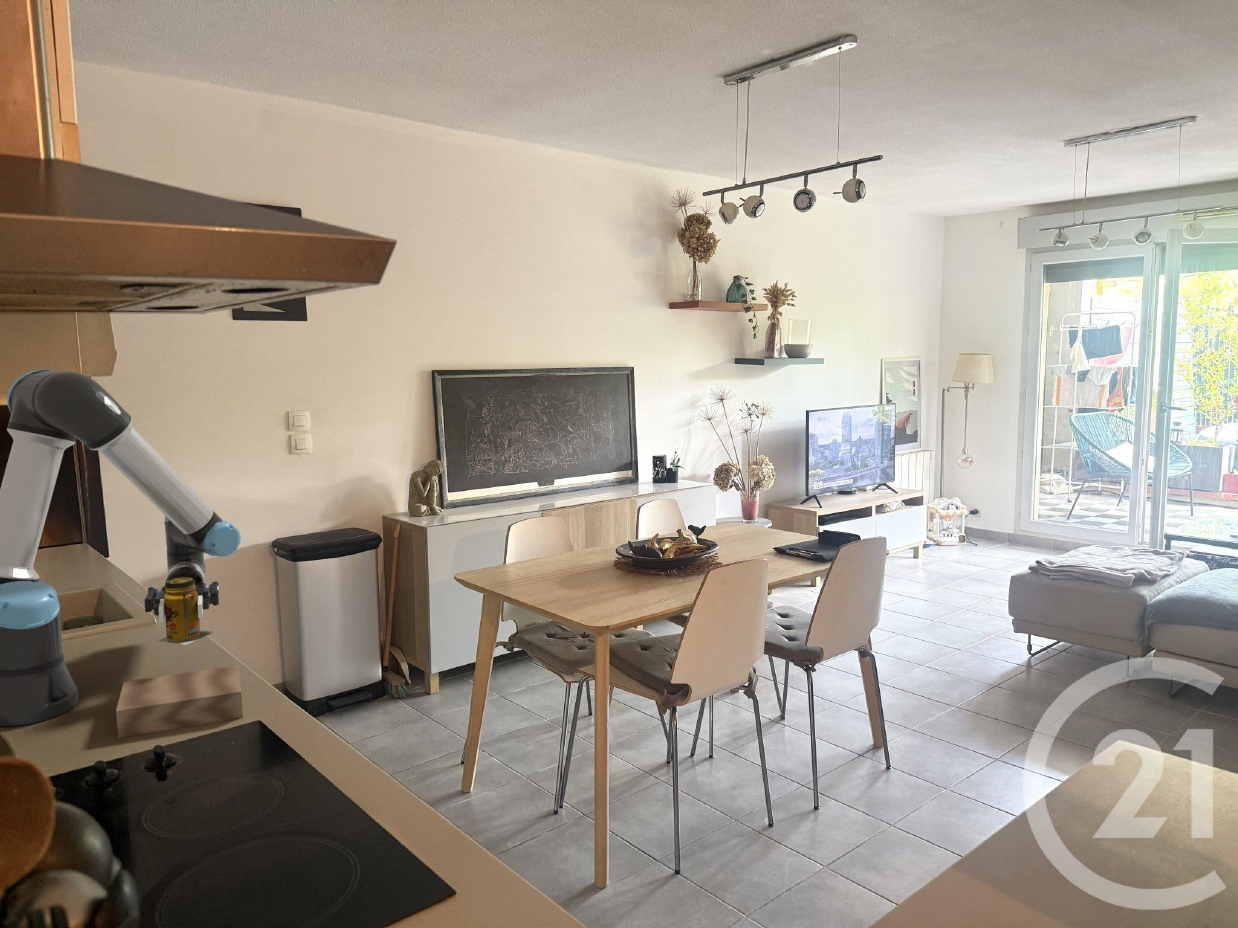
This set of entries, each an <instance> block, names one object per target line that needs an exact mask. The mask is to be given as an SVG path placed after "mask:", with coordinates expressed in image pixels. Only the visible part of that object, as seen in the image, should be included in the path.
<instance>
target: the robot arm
mask: <svg viewBox="0 0 1238 928" xmlns="http://www.w3.org/2000/svg"><path fill="white" fill-rule="evenodd" d="M6 404H7V407H8V410H9V412H10V417H9V421H8V424H7V428H6V431H7V432H8V434H9V435H10V436H11V438H12V440H13V442H12V445H11V450H10V453H9V455H8V456H9V457H8V461H7V463H6V467H5V472H4V475H3V479H2V482H1V487H0V727H15V726H16V727H17V726H23V725H29V724H35V723H38V722H43V721H46V720H49V719H53V718H55V717H58V716H60V715H62V714H64V713H66V712H68V711H70V710H72V709H73V708H75V707H76V706H77V705H78V703H79V700H80V699H79V698H80V697H79V689H78V687H77V684H76V682H75V680H74V679H73V677H72V675H71V673H70V671H69V670H68V666H67V665H66V664H65V658H64V657H65V656H64V646H63V634H62V624H61V613H60V610H61V608H60V607H61V603H60V600H59V597H58V593H57V590H56V589H55V588H54V586H52V585H50V584H49V583H46V582H42V581H40V575H39V574H38V573H37V571H36V570H35V568H34V564H35V562H36V561H35V559H36V557H37V553H38V549H39V545H40V542H41V537H42V535H43V530H44V527H45V523H46V520H47V519H46V518H47V516H48V513H49V508H50V505H51V501H52V497H53V493H54V490H55V486H56V482H57V479H58V475H59V471H60V467H61V464H62V460H63V456H64V452H65V450H67V449H68V448H69V447H71V446H74V445H75V444H76V442H77V440H79V441H80V442H81V443H82V444H84V446H86V448H87V449H89V450H90V451H99V452H100V453H101V454H102V456H104V457H105V458H106V459H107V460H108V461H109V462H110V463H111V464H112V466H114V467H115V468H116V469H117V470H118V471H119V472H120V473H121V474H122V475H123V476H125V478H126V479H128V481H129V482H130V483H132V485H133V486H134V487H135V488H137V489H138V491H139V492H141V493H142V494H143V495H144V496H145V497H146V499H147V500H149V502H151V503H152V504H153V505H154V506H155V507H156V508H157V510H159V511H160V512H161V513H162V514H163V515H164V522H163V524H164V532H165V542H166V544H165V545H166V562H167V563H166V564H167V574H166V578H165V584H166V582H167V581H168V580H170V579H174V578H181V577H189V578H193V579H194V580H195V587H196V589H195V590H196V591H197V593H198V618H199V619H201V618H203V616H204V610H209V609H210V605H212V606H215V607H216V606H218V605H220V598H219V594H220V589H219V588H220V586H219V584H220V583H219V581H212V582H211V583H208V585H207V584H206V583H205V574H206V563H205V556H204V555H205V554H207V555H208V556H210V557H219V558H226V557H228V556H230V555H232V554H234V553H235V551H237V549H238V548H239V546H240V544H241V540H242V539H241V537H242V535H241V531H240V530H239V528H238V527H237V526H236V525H235V524H233V523H231V522H229V521H225V520H223V519H222V517H220V516H219V515H218V514H217V513H216V512H215V511H214V510H213V509H212V508H211V507H210V505H208V503H206V502H205V500H204V499H202V497H201V496H199V494H198V493H197V492H196V491H195V490H194V489H193V488H192V487H191V486H190V485H189V484H188V483H187V481H185V480H184V479H183V478H182V476H180V474H179V473H178V472H177V471H176V470H175V469H174V468H173V467H172V466H171V464H169V463H168V462H167V461H166V460H165V459H164V457H163V456H161V455H160V453H159V452H158V451H157V450H156V449H155V448H154V447H153V446H152V445H151V444H150V443H149V442H148V440H147V439H145V438H144V437H143V436H142V434H141V433H140V432H138V430H136V429H135V427H134V426H133V419H134V418H133V417H132V415H130V413H128V412H127V411H126V410H125V408H123V407H122V405H121V404H119V402H118V401H117V400H116V399H115V398H114V397H113V396H112V395H111V394H110V393H109V392H108V391H107V390H106V389H105V387H103V386H102V385H100V384H99V383H98V382H97V381H96V380H95V379H93V378H92V377H89V376H87V375H86V374H83V373H81V372H77V371H67V370H66V371H65V370H56V369H49V368H48V369H47V368H46V369H38V370H33V371H30V372H27V373H24V374H22V375H21V376H19V377H17V378H16V380H14V381H13V382H12V385H11V386H10V387H9V389H8V392H7V396H6ZM165 584H164V585H163V586H162V587H161V589H159V588H157V587H151V586H150V587H148V588H147V594H146V596H145V598H144V601H143V602H144V611H145V613H151V612H152V611H153V615H154V616H155V617H156V616H158V618H159V620H158V621H159V623H163V622H165V619H166V617H165V603H164V596H165V594H166V585H165Z"/></svg>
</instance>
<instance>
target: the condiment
mask: <svg viewBox="0 0 1238 928" xmlns="http://www.w3.org/2000/svg"><path fill="white" fill-rule="evenodd" d="M165 583H166V584H164V586H165V585H166V594H165V596H164V603H165V631H166V636H165V637H163V638H161V639H158V640H156V641H157V642H162V643H168V644H176V645H185V646H187V645H189V644H191V643H194V642H197V641H199V640H201V639H203V638H205V637H207V636H210V635H212V634H214V633H216V632H217V630H211V629H210V630H206V629H201V625H200V624H201V623H200V621H201V620H200V618H198V593H197V591H196V590H195V589H196V587H195V580H194V579H193V578H189V577H181V578H174V579H170V580H168V581H167V582H166V581H165Z"/></svg>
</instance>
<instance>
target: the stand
mask: <svg viewBox="0 0 1238 928" xmlns="http://www.w3.org/2000/svg"><path fill="white" fill-rule="evenodd" d="M242 698H243V697H242V685H241V672H240V664H239V665H231V666H223V667H218V668H217V667H216V668H210V669H205V670H204V669H203V670H197V671H191V672H190V671H189V672H183V673H175V674H168V675H167V674H166V675H161V676H156V677H155V676H154V677H149V678H148V677H147V678H146V677H145V678H141V679H133V680H126V681H123V683H122V687H121V691H120V694H119V698H118V702H117V705H116V710H115V716H116V725H117V726H116V728H117V737H118V739H121V738H125V737H126V738H127V737H133V736H139V735H145V734H150V733H157V732H163V731H171V730H176V729H182V728H188V727H194V726H199V725H200V726H201V725H206V724H211V723H212V722H213V723H217V722H223V720H225V721H229V720H235V719H242V718H241V717H243V718H244V715H243V703H242ZM205 723H206V724H205Z"/></svg>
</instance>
